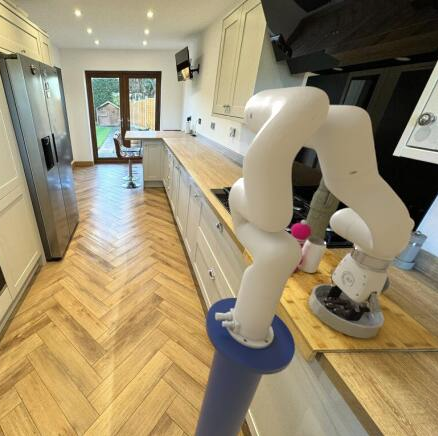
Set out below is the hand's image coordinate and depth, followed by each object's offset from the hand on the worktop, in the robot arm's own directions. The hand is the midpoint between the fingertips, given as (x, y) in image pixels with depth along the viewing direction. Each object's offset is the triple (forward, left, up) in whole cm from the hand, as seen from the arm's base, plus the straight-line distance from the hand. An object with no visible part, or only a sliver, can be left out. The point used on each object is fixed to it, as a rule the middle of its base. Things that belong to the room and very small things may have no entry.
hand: (341, 308), depth 68 cm
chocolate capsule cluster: (0, 0, 0) cm, 1 cm away
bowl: (+1, 0, -3) cm, 3 cm away
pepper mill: (-3, +22, -3) cm, 23 cm away
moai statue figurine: (+15, +39, -3) cm, 42 cm away
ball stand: (+13, +8, -3) cm, 15 cm away
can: (+4, +22, -3) cm, 23 cm away
